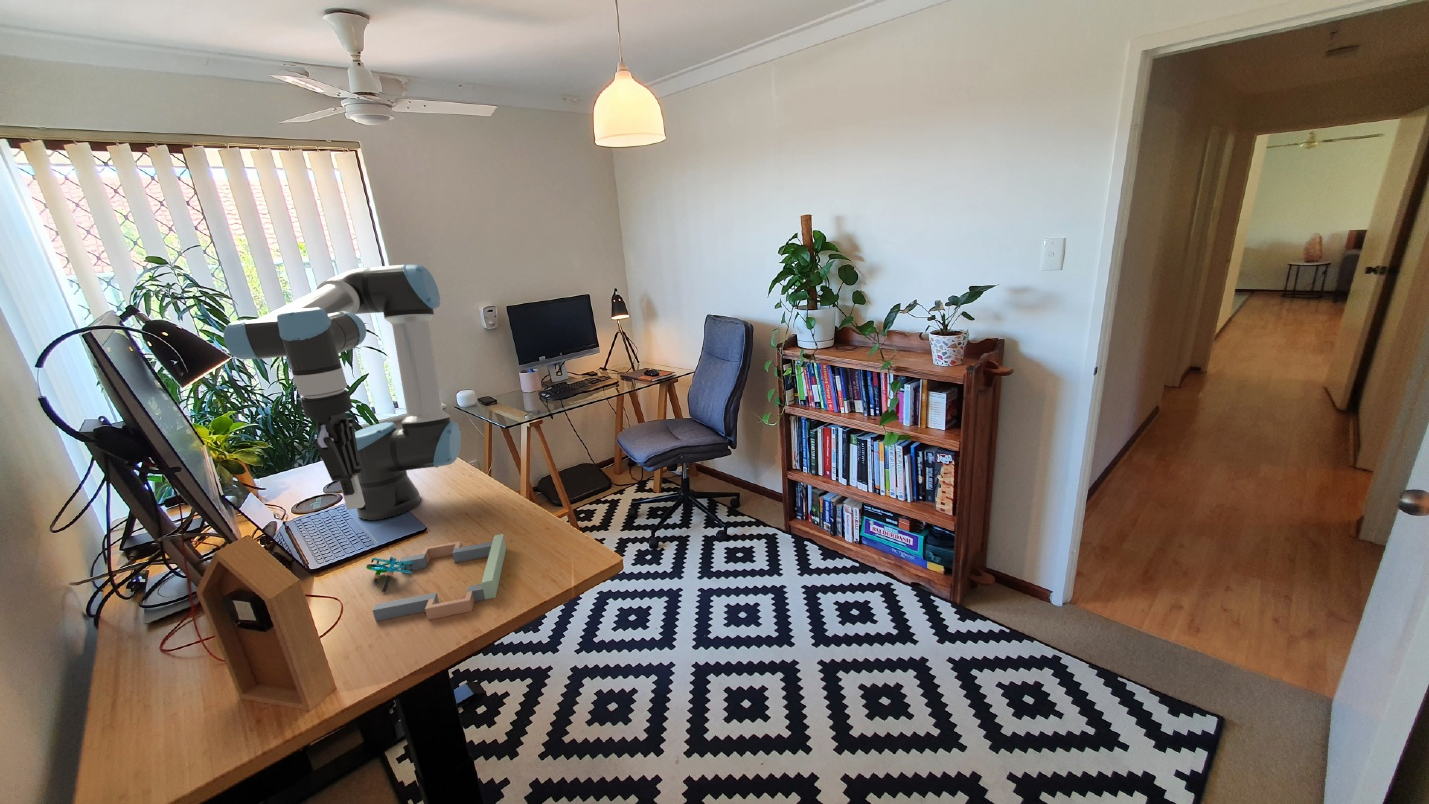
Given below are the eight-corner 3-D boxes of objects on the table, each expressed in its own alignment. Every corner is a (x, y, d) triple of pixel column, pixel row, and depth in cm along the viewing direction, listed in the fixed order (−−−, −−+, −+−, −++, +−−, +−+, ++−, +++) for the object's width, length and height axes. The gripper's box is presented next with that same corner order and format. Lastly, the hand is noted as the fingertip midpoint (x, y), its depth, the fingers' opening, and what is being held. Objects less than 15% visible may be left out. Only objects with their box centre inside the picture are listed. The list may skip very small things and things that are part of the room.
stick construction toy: (422, 560, 118) (388, 551, 112) (412, 593, 114) (376, 585, 108) (390, 567, 123) (355, 559, 118) (379, 599, 120) (344, 592, 114)
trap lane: (407, 560, 125) (403, 545, 124) (507, 542, 130) (504, 527, 129) (370, 631, 102) (365, 613, 101) (493, 606, 107) (490, 589, 106)
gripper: (316, 386, 106) (347, 496, 113) (283, 405, 94) (320, 526, 100) (359, 382, 107) (387, 490, 114) (332, 399, 95) (365, 518, 102)
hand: (356, 506), depth 107 cm, fingers closed
